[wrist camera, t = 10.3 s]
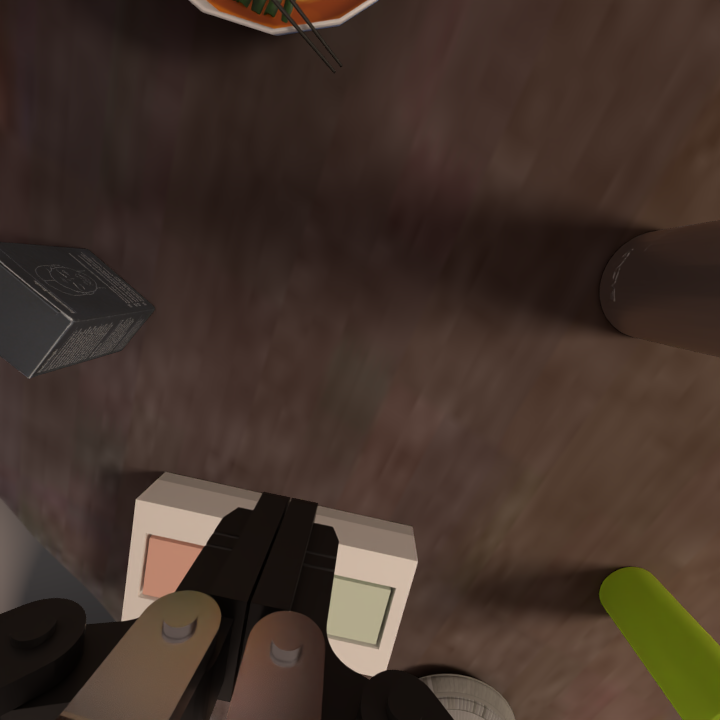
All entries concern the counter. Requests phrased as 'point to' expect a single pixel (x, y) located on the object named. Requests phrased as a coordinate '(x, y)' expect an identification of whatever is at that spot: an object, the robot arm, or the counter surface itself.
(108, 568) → the counter surface
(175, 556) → the coral key
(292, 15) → the ramen bowl
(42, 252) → the box
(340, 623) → the sage key
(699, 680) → the soap dispenser
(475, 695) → the flying saucer
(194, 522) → the keypad
